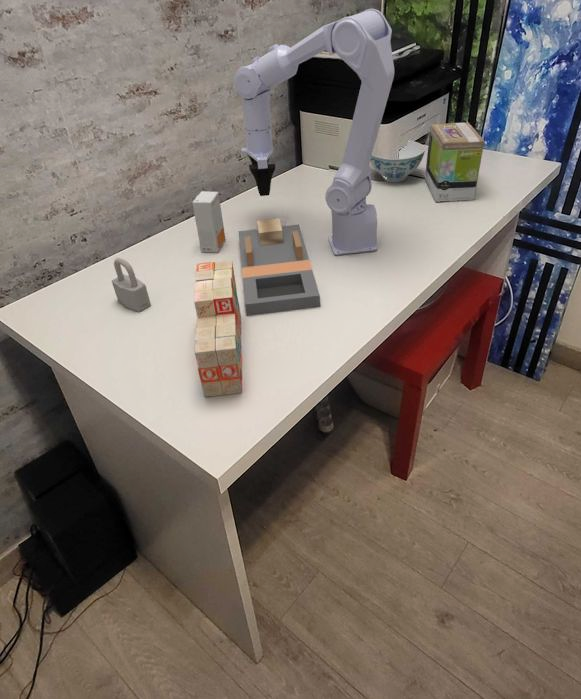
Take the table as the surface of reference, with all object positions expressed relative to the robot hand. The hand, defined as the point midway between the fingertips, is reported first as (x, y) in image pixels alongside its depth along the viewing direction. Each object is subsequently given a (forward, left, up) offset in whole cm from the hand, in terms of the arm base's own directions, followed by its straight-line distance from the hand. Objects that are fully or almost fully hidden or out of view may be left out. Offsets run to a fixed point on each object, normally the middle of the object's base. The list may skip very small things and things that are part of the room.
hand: (263, 188), depth 121 cm
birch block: (0, +11, -7) cm, 13 cm away
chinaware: (-37, -21, -10) cm, 44 cm away
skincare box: (+13, +7, -10) cm, 18 cm away
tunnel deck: (0, +21, -10) cm, 23 cm away
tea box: (-48, -9, -10) cm, 50 cm away
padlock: (+29, +27, -10) cm, 41 cm away
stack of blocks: (+11, +46, -10) cm, 48 cm away
